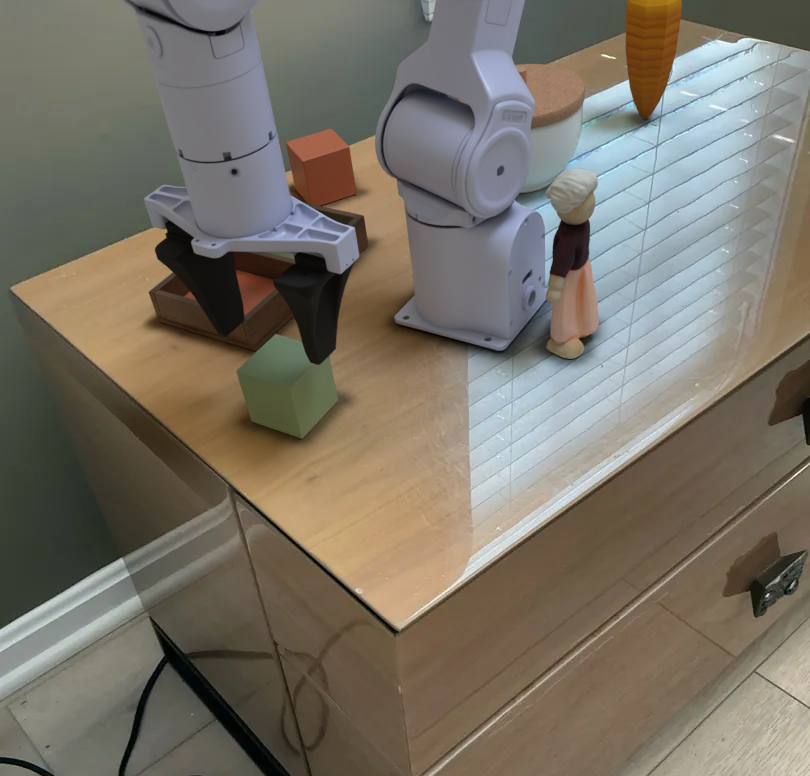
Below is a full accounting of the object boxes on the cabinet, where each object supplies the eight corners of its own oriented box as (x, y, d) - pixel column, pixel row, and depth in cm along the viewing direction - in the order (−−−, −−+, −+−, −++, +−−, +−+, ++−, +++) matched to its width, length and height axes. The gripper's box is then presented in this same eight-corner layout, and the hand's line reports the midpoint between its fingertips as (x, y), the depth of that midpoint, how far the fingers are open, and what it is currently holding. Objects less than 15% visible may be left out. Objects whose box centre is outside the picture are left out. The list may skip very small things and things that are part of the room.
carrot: (609, 114, 92) (618, -61, 81) (656, 102, 93) (671, -73, 82) (633, 135, 89) (645, -45, 78) (681, 122, 89) (700, -58, 78)
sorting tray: (368, 245, 81) (364, 215, 79) (255, 351, 72) (247, 320, 70) (275, 223, 85) (269, 194, 83) (158, 321, 76) (147, 291, 74)
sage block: (339, 400, 67) (328, 348, 64) (302, 439, 65) (289, 387, 61) (288, 384, 69) (275, 333, 66) (250, 421, 67) (235, 370, 63)
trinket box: (523, 219, 81) (521, 109, 74) (439, 182, 87) (429, 76, 80) (607, 170, 85) (613, 61, 78) (521, 137, 91) (519, 34, 84)
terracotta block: (339, 174, 90) (331, 127, 87) (357, 194, 87) (349, 146, 84) (294, 188, 89) (285, 142, 86) (311, 208, 86) (302, 161, 83)
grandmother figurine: (594, 368, 66) (602, 199, 57) (539, 366, 67) (538, 199, 58) (601, 305, 71) (610, 140, 62) (550, 304, 72) (551, 140, 63)
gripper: (82, 151, 53) (155, 348, 63) (287, 195, 47) (332, 406, 57) (164, 98, 57) (220, 292, 67) (364, 133, 51) (393, 341, 61)
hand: (276, 341), depth 63 cm, fingers open, 7 cm apart
